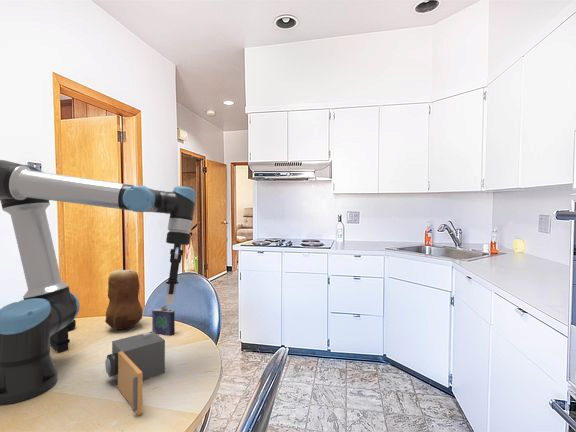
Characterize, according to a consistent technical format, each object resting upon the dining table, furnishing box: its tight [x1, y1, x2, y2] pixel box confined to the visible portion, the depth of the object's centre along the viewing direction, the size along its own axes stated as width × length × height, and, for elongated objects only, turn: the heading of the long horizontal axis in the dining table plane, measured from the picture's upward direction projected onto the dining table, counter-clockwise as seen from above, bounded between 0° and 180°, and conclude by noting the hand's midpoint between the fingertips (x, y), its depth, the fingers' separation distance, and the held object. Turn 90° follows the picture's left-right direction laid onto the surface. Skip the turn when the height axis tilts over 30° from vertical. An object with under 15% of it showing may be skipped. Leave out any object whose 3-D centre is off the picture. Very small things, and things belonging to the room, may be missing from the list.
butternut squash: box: [104, 269, 143, 330], centre depth 131 cm, size 14×13×25 cm
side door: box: [117, 351, 143, 416], centre depth 80 cm, size 16×2×10 cm, turn 44°
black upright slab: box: [50, 325, 71, 353], centre depth 112 cm, size 4×13×15 cm, turn 50°
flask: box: [151, 304, 176, 337], centre depth 125 cm, size 10×3×12 cm, turn 76°
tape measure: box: [68, 319, 77, 331], centre depth 129 cm, size 7×7×4 cm
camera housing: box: [104, 330, 166, 383], centre depth 93 cm, size 14×10×11 cm
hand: (169, 304), depth 100 cm, fingers closed
